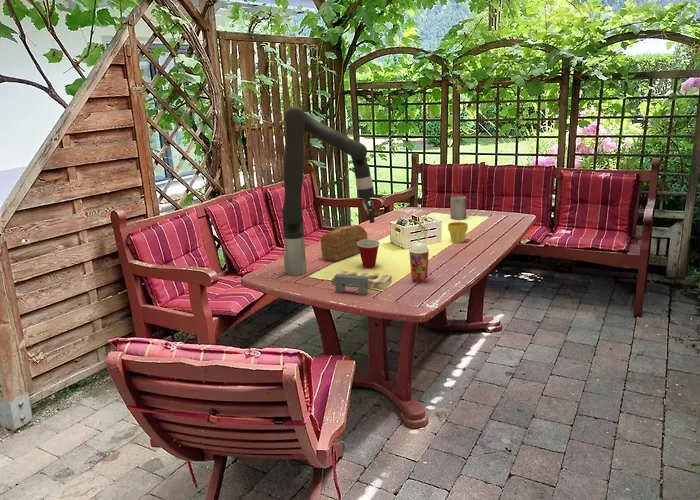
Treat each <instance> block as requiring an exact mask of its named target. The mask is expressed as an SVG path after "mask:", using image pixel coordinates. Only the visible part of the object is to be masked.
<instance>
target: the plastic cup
mask: <svg viewBox="0 0 700 500" xmlns="http://www.w3.org/2000/svg"><path fill="white" fill-rule="evenodd" d="M380 244H381V243H380V241H378V240H376V239H368V238H367V240H361V241H358V242H357V245H358V247H359V250H360V252H359V254H360V259H361V264H362V267H363V268H365V269H374V268H375V267H376V264H377V259H378V258H377V257H378V250H379V246H380ZM373 267H374V268H373Z"/></svg>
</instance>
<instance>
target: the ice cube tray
mask: <svg viewBox="0 0 700 500" xmlns="http://www.w3.org/2000/svg"><path fill="white" fill-rule="evenodd" d="M336 274H344V275H356V276H367V277H368V284H367V289H377V290H378V289H379V290H385V289H386V288H387V287H388V286H390V284H391V283H393V275H392V274H382V273H380V274H379V273H368V272H358V271H347V270H340V271H338V272H337V273H336ZM334 276H335V275H333V276H332V277H331V285H335V286H336V283H334ZM347 286H348V287H355V288H358V285H352V284H345V287H347Z"/></svg>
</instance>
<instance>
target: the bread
mask: <svg viewBox="0 0 700 500" xmlns="http://www.w3.org/2000/svg"><path fill="white" fill-rule="evenodd" d="M367 239H368V232H367V231H366V229H365V228H363V226H360V225H356V224H350V225H344V226H339V227H337V228H335V229H333V230H330V231H328V232H326V233H325V234H323V235H322V236H321V237H320V244H321V245H320V249H321V257H322V258H323V259H325V260H327V261H332V262H333V261H336V262H337V261H340V260H342V259H345V258H348V257H351V256H354V255H356V254H358V253H359V254H360V250H359V247H358V245H357V242H358V241H361V240H367Z"/></svg>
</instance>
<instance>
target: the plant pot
mask: <svg viewBox="0 0 700 500" xmlns="http://www.w3.org/2000/svg"><path fill="white" fill-rule="evenodd" d="M468 229H469V226H468V223H467V222H463V221H453V222H449V223H447V230H448V232H449V234H450V240H451V242H452V243H455V244H460V243H461V244H462V243H464V242H465V238H466V234H467V231H468Z"/></svg>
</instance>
